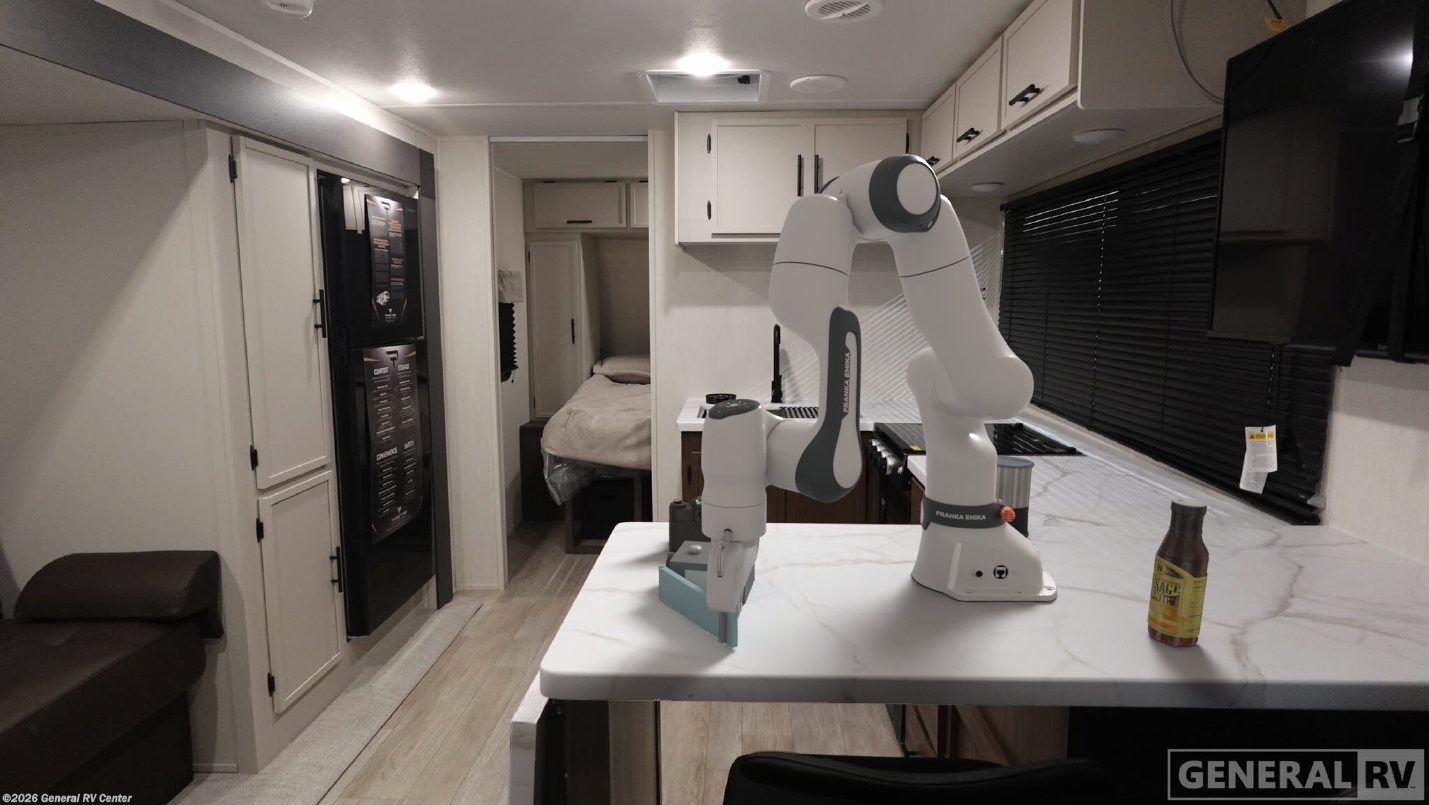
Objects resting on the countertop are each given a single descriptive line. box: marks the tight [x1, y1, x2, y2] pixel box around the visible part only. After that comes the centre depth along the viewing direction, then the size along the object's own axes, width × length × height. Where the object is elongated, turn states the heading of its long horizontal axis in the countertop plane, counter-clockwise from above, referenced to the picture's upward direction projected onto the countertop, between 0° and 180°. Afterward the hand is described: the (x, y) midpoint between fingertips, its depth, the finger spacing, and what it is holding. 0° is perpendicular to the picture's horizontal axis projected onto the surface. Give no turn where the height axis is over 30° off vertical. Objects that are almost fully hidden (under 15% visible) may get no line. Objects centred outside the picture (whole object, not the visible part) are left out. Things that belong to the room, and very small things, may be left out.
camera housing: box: [665, 541, 756, 605], centre depth 121 cm, size 13×10×7 cm
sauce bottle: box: [1146, 497, 1210, 648], centre depth 102 cm, size 7×6×20 cm
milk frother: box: [995, 455, 1036, 538], centre depth 146 cm, size 14×16×15 cm
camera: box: [668, 495, 711, 553], centre depth 142 cm, size 14×11×10 cm
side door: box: [658, 564, 739, 649], centre depth 108 cm, size 20×2×5 cm, turn 33°
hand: (733, 615), depth 104 cm, fingers closed
